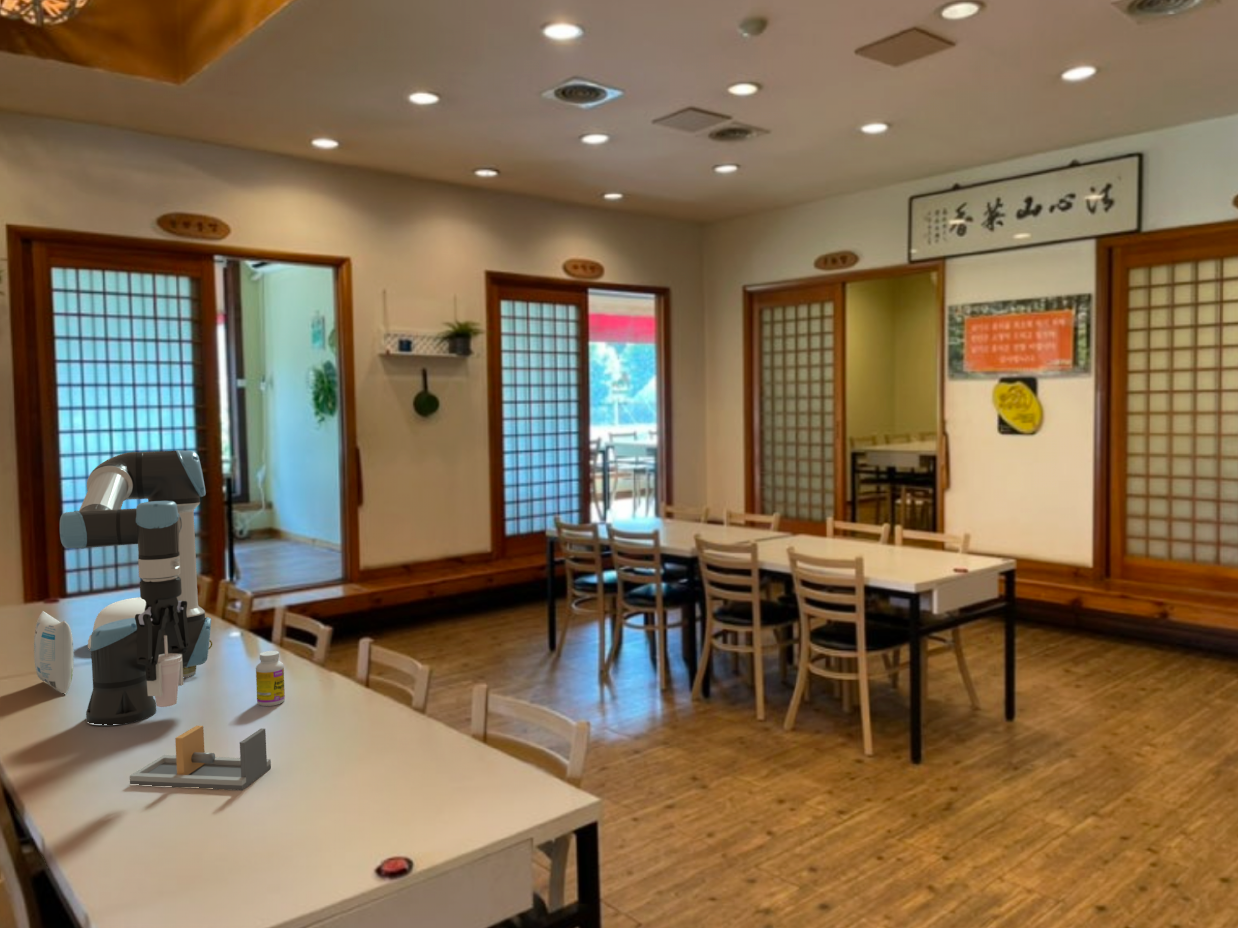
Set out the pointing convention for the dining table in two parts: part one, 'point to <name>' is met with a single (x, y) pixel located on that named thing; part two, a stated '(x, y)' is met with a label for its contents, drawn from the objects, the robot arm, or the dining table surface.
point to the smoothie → (169, 677)
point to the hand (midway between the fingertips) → (165, 690)
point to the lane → (211, 769)
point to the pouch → (54, 652)
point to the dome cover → (119, 612)
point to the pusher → (191, 751)
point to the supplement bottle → (270, 679)
